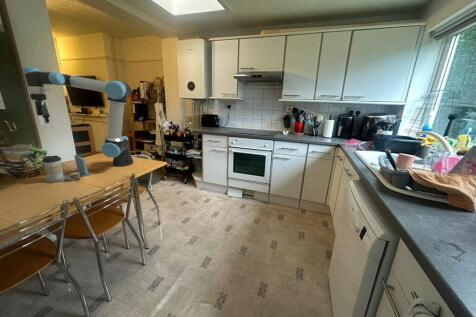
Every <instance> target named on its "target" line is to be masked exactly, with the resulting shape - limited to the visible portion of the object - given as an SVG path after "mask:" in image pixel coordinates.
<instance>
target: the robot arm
mask: <svg viewBox="0 0 476 317" xmlns="http://www.w3.org/2000/svg"><path fill="white" fill-rule="evenodd" d="M40 70H41V69H40V68H38V67H28V66H26V67H23V76H24V79H25V81H26V84H27V87H26V89H27V90H28V93H30V94H29V96H30V100H32V101H34V105H35V113H36V115H37V117H38V121H39V123H40V124H39V125H40V126H45V128H52V123H51V119H50V115H51V114H50V113H49V110H48V107H47V105H46V101H47V98H48V97H47V95H46V90H45V87H44V85H53V86H67V87H73V88H79V89H83V90H89V91H96V92H102V93H105V94H106V97H107V101H108V103H109V108H108V110H109V111H108V123H107V126H108V127H107V135H106V136H105V137H104V143H103V145H102V146H101V152H102V154H103V155H104V156H105V157H107V158H112V166H114V167H127V166H130V165H132V164H134V159H133V157H132V155H131V150H130V144H129V138H128V136H126V135H125V136H124V135H123V134H122V132H123V124H124V123H123V121H124V108H125V105H127V104H128V103H127V102H128V98H130V97H131V95H132V94H133V92H132V90H133V89H132V88H131V86H130V85H129V84H128V83H127V82H124V81H119V80H112V81H104V80H98V79H92V78H89V77H88V78H87V77H81V76H77V75H70V74H67V73H61V72H55V71H52V72H51V71H40Z"/></svg>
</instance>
